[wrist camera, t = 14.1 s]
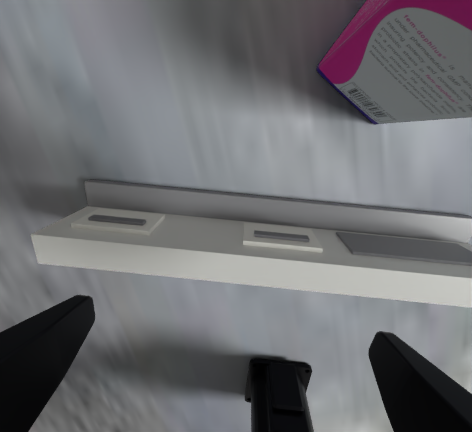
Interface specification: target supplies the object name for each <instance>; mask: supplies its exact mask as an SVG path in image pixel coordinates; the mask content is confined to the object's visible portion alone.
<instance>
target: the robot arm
mask: <svg viewBox="0 0 472 432" xmlns="http://www.w3.org/2000/svg"><path fill="white" fill-rule="evenodd" d="M94 321H95V311H94V304H93V299H92V297H90V296H85V295H76V296H74V297H72V298H70V299H68V300H66V301H63V302H61V303H59V304H57V305H55V306H53V307H51V308H49V309H47V310H45V311H43V312H41V313H39V314H37V315H35V316H33V317H31V318H29V319H27V320H25V321H23V322H21V323H19V324H17V325H15V326H12V327H10V328H8V329H6V330H4V331H2V332H0V432H28V431H29V430H30V428H31V427H32V425H33V424H34V422H35V420H36V419H37V417H38V416H39V414H40V413H41V411H42V410H43V408H44V407H45V405H46V404H47V402H48V401H49V399H50V398H51V396H52V395H53V393H54V392H55V390H56V389H57V387H58V386H59V384H60V383H61V381H62V379H63V378H64V376H65V375H66V373H67V371H68V369H69V368H70V366H71V364H72V362H73V360H74V359H75V357H76V355H77V353H78V351H79V349H80V348H81V346H82V344H83V342H84V340H85V338H86V336H87V335H88V333H89V331H90V329H91V327H92V325H93V323H94ZM369 359H370V362H371V365H372V369H373V372H374V375H375V378H376V381H377V385H378V388H379V391H380V394H381V397H382V400H383V404H384V407H385V410H386V412H387V415H388V418H389V420H390V423H391V426H392V428H393V431H394V432H472V394H471V393H470V392H468V391H467V390H466V389H464V388H463V387H462V386H460V385H459V384H458V383H457V382H455V381H454V380H453V379H451V378H450V377H449V376H448V375H446V374H445V373H444V372H442V371H441V370H440V369H438V368H437V367H436V366H435V365H433V364H432V363H431V362H429V361H428V360H427V359H426V358H424V357H423V356H422V355H420V354H419V353H418V352H417V351H415V350H414V349H413V348H411V347H410V346H409V345H407V344H406V343H405V342H404V341H402V340H401V339H400V338H398V337H397V336H396V335H394V334H393V333H390V332H382V331H379V332H377V333H376V334H375V337H374V339H373V341H372V343H371V346H370V348H369ZM311 373H312V369H311V366H310V365H308V364H300V363H290V362H281V361H271V360H262V359H252V360H251V361H250V365H249V372H248V378H247V385H246V391H245V401H247V402H251V432H314V430H313V425H312V420H311V416H310V411H309V407H308V402H307V397H306V390H307V387H308V383H309V380H310V377H311Z"/></svg>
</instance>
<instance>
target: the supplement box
mask: <svg viewBox="0 0 472 432" xmlns="http://www.w3.org/2000/svg"><path fill="white" fill-rule="evenodd" d="M316 70H317V72H318V73H319V74H320V75H321V76H322V77H323V78H324V79H325V80H326V81H327V82H328V83H330V84H331V85H332V86H333V87H334V88H335V89H336V90H337V91H338V92H339V93H340V94H341V95H342V96H343V97H344V98H346V99H347V100H348V101H349V102H350V103H351V104H352V105H353V106H354V107H355V108H356V109H358V110H359V111H360V112H361V113H362V114H363V115H364V116H365V117H367V118H368V119H369V120H370V121H371V122H372V123H373V124H375V125H376V124H384V123H397V122H410V121H424V120H438V119H451V118H466V117H472V0H367V1H366V2H365V3H364V4H363V6H362V7H361V8H360V10H359V11H358V12H357V14H356V15H355V16H354V18H353V19H352V20H351V21H350V23H349V24H348V25H347V27H346V28H345V29H344V31H343V32H342V33H341V35H340V36H339V37H338V39H337V40H336V41H335V43H334V44H333V45H332V47H331V48H330V49H329V51H328V52H327V53H326V55H325V56H324V57H323V59H322V60H321V62H320V63H319V64H318V66H317V69H316Z"/></svg>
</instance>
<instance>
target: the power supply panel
mask: <svg viewBox="0 0 472 432" xmlns="http://www.w3.org/2000/svg"><path fill="white" fill-rule="evenodd" d="M84 184H85V191H86V197H87V204H88V206H87V207H85V208H83V209H81V210H79V211H77V212H75V213H73V214H71V215H69V216H67V217H65V218H63V219H61V220H59V221H57V222H55V223H53V224H51V225H49V226H46V227H44V228H42V229H40V230H38V231H36V232H34V233H32V234H31V238H32V242H33V245H34V249H35V253H36V257H37V261H38V263H39V264H49V265H59V266H69V267H78V268H88V269H98V270H108V271H118V272H127V273H137V274H147V275H157V276H167V277H177V278H186V279H196V280H206V281H216V282H226V283H235V284H245V285H255V286H265V287H275V288H284V289H294V290H304V291H314V292H324V293H334V294H343V295H353V296H363V297H373V298H383V299H392V300H402V301H412V302H422V303H432V304H442V305H451V306H461V307H471V308H472V245H470V244H468V241H469V240H470V238H471V236H472V216H466V215H456V214H445V213H435V212H425V211H414V210H404V209H394V208H383V207H373V206H362V205H352V204H342V203H331V202H321V201H310V200H300V199H290V198H279V197H269V196H258V195H248V194H238V193H227V192H217V191H207V190H196V189H186V188H175V187H165V186H155V185H144V184H134V183H123V182H113V181H103V180H92V179H90V180H87V181H84Z"/></svg>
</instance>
